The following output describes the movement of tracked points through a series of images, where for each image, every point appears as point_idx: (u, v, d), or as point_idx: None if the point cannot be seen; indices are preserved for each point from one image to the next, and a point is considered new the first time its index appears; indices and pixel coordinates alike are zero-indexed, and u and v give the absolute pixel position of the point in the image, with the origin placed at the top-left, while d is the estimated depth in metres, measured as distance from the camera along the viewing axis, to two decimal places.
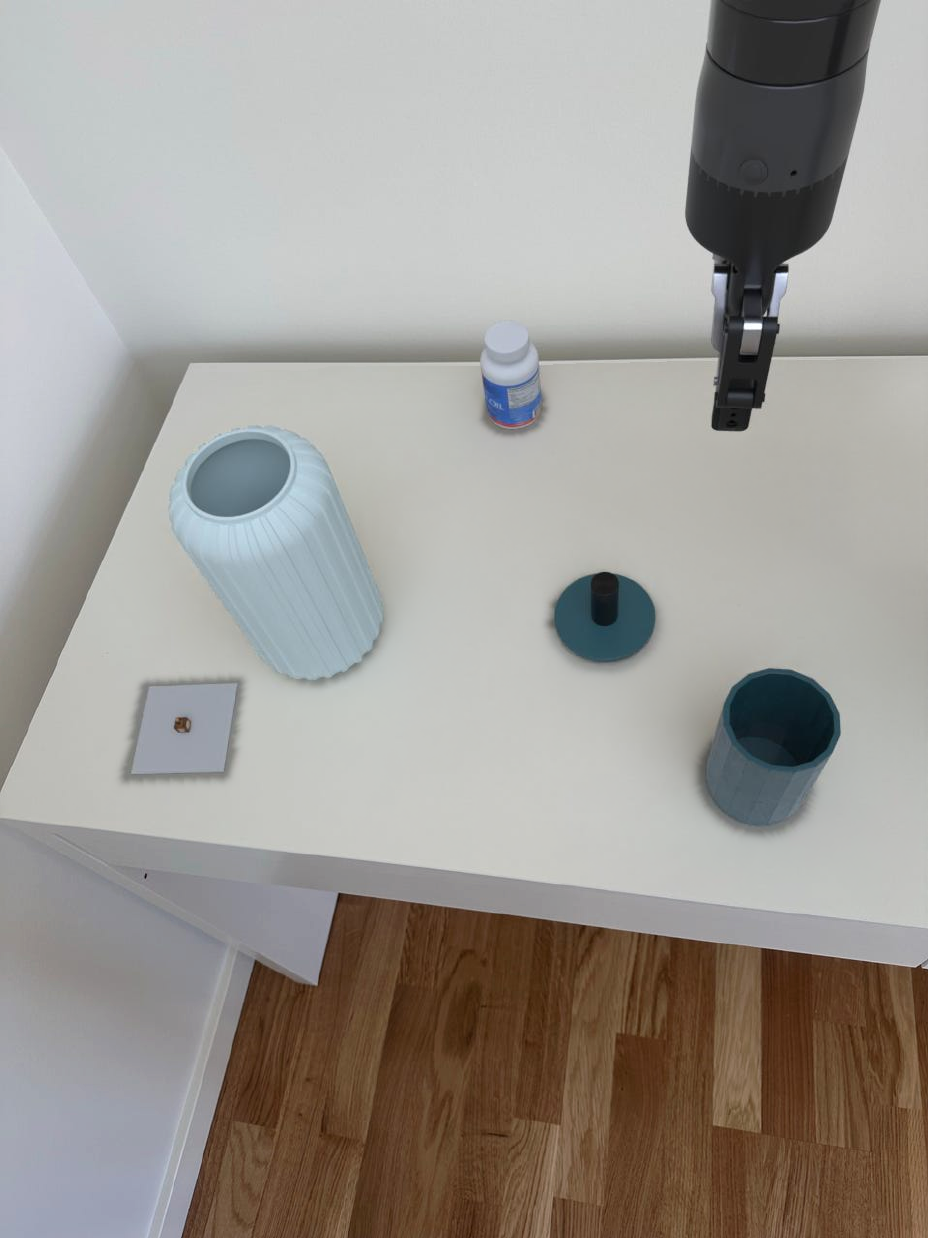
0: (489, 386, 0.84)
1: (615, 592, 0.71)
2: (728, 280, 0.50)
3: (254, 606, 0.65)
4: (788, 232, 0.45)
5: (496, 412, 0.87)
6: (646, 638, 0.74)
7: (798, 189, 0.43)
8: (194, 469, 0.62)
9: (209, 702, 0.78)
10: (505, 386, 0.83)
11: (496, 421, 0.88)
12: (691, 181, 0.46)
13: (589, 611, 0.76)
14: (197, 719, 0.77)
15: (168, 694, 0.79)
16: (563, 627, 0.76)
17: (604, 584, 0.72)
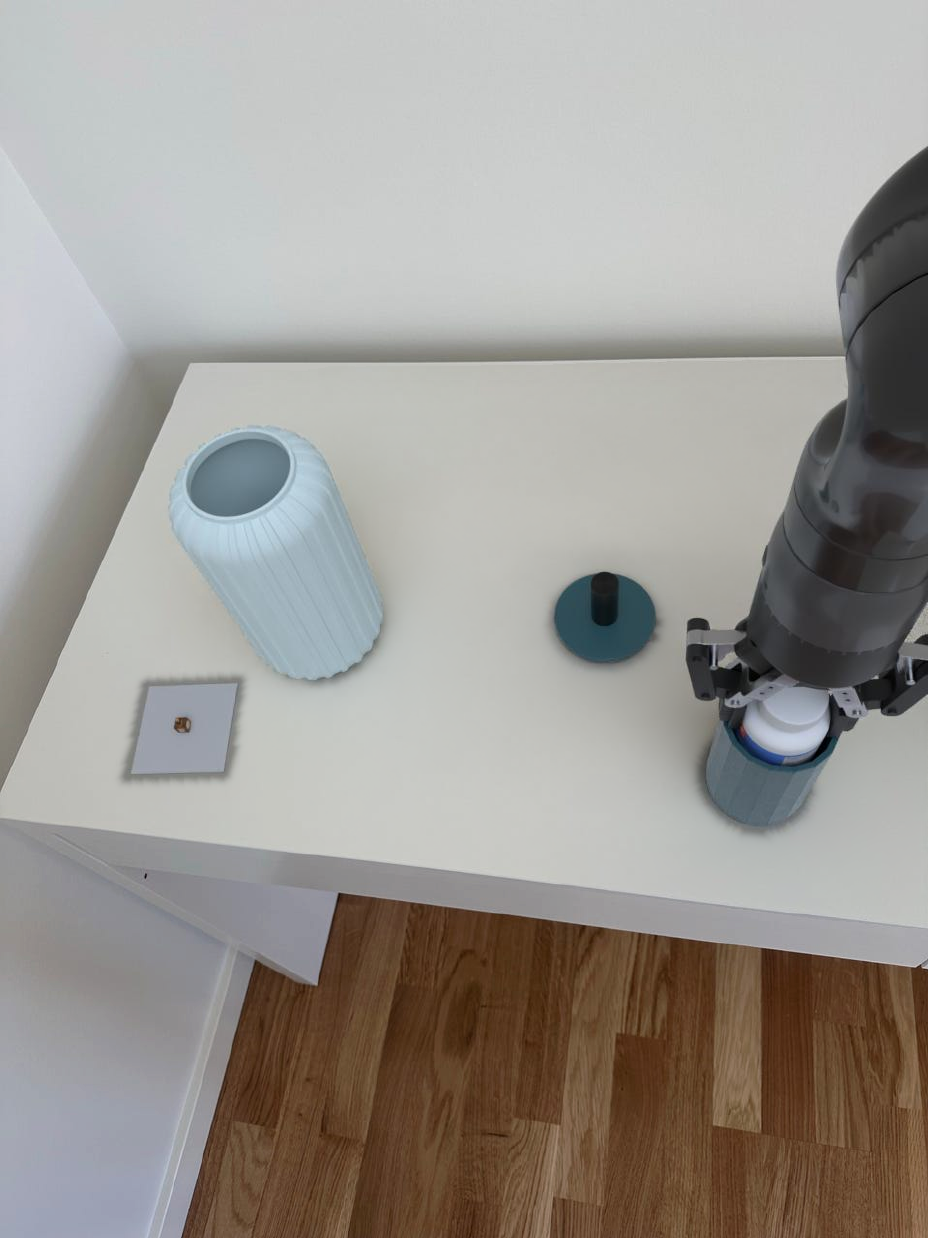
0: (753, 747, 0.58)
1: (615, 592, 0.71)
2: None
3: (254, 606, 0.65)
4: (758, 625, 0.47)
5: None
6: (646, 638, 0.74)
7: (765, 602, 0.45)
8: (194, 469, 0.62)
9: (209, 702, 0.78)
10: (784, 755, 0.57)
11: None
12: None
13: (589, 611, 0.76)
14: (197, 719, 0.77)
15: (168, 694, 0.79)
16: (563, 627, 0.76)
17: (604, 584, 0.72)
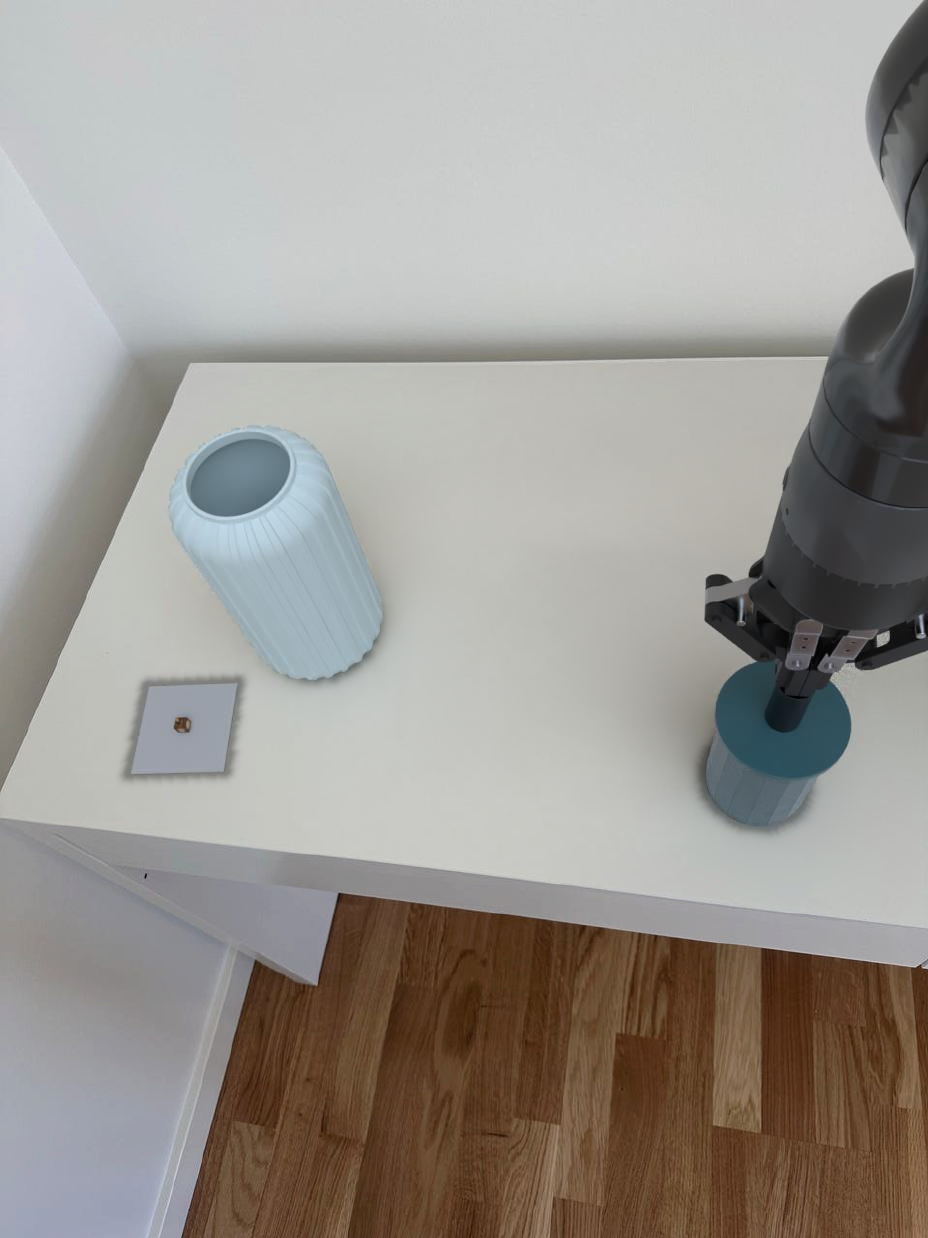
0: None
1: (812, 695, 0.54)
2: None
3: (254, 606, 0.65)
4: (776, 560, 0.41)
5: None
6: (842, 750, 0.57)
7: (786, 531, 0.39)
8: (194, 469, 0.62)
9: (209, 702, 0.78)
10: None
11: None
12: None
13: (761, 711, 0.59)
14: (197, 719, 0.77)
15: (168, 694, 0.79)
16: (729, 733, 0.58)
17: None
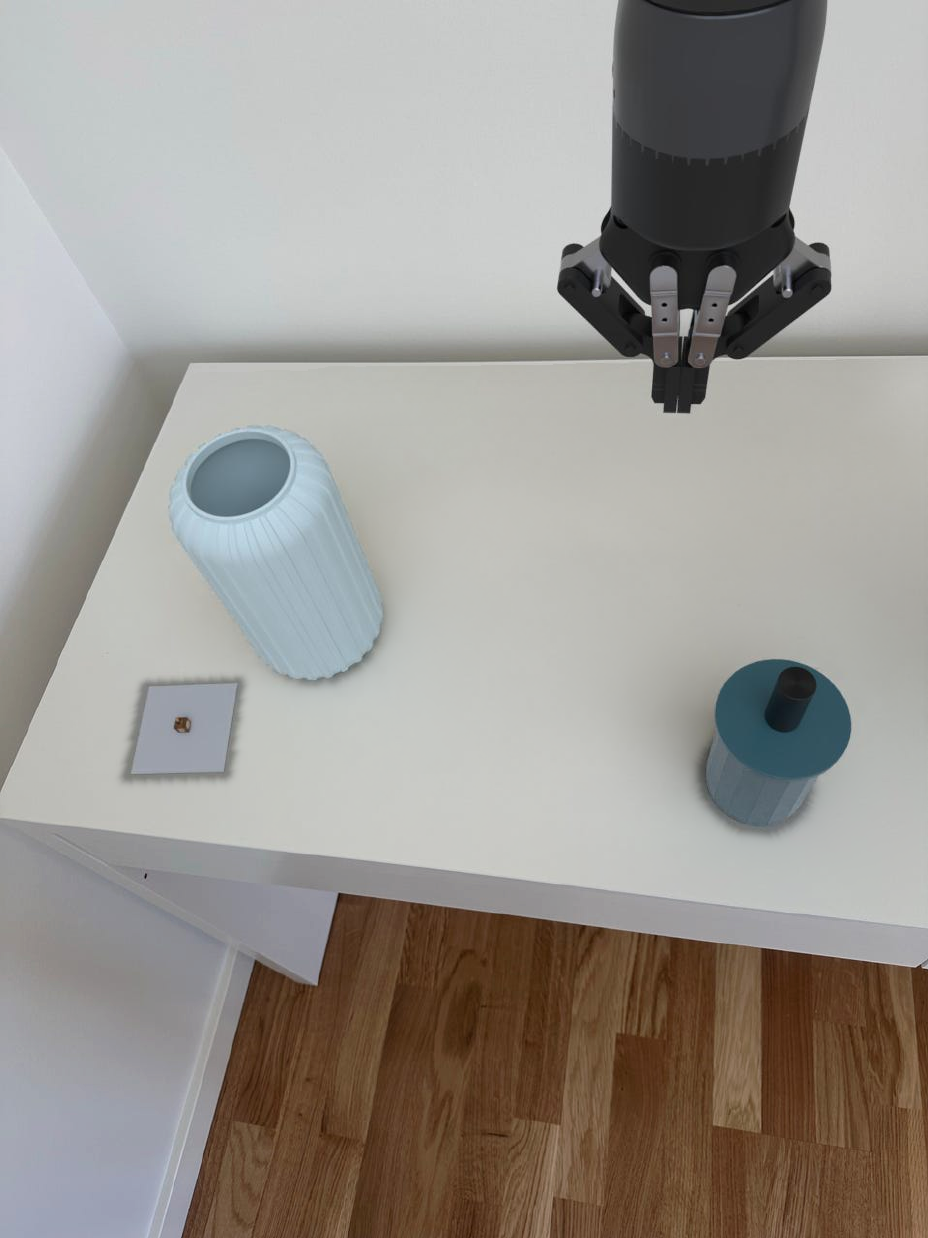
0: None
1: (812, 695, 0.54)
2: None
3: (254, 606, 0.65)
4: (614, 175, 0.38)
5: None
6: (842, 750, 0.57)
7: (616, 122, 0.36)
8: (194, 469, 0.62)
9: (209, 702, 0.78)
10: None
11: None
12: None
13: (761, 711, 0.59)
14: (197, 719, 0.77)
15: (168, 694, 0.79)
16: (729, 733, 0.58)
17: (797, 684, 0.54)
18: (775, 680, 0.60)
